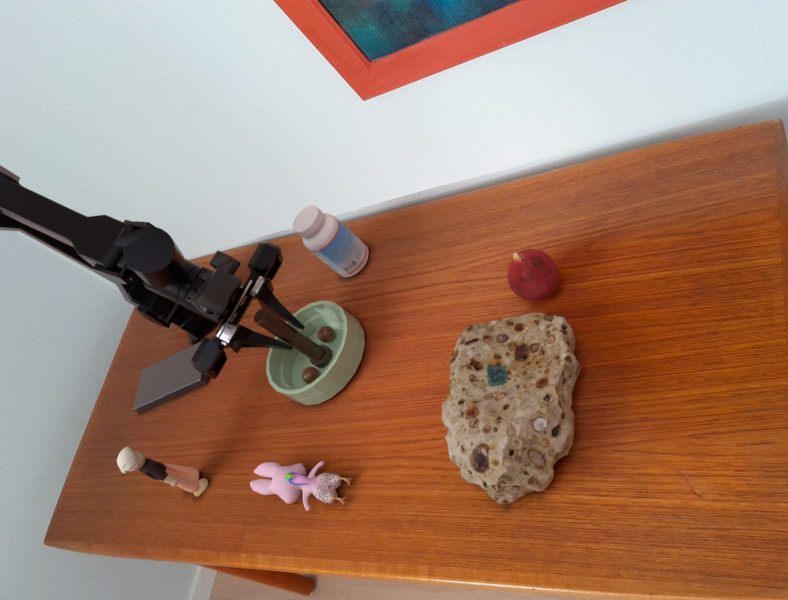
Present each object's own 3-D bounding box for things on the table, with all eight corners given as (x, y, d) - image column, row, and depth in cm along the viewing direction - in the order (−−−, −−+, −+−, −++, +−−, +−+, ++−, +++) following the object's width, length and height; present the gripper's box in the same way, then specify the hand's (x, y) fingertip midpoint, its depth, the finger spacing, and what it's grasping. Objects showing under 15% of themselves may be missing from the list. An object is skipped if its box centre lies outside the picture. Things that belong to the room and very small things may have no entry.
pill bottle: (373, 240, 101) (325, 195, 93) (367, 273, 98) (317, 229, 90) (342, 250, 104) (293, 207, 96) (335, 282, 101) (284, 241, 93)
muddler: (312, 358, 95) (248, 315, 85) (329, 343, 94) (266, 299, 85) (318, 372, 92) (253, 331, 83) (335, 358, 92) (271, 314, 83)
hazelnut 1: (307, 378, 93) (296, 371, 91) (320, 367, 93) (309, 360, 91) (312, 390, 91) (300, 383, 90) (325, 379, 91) (313, 371, 89)
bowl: (279, 359, 99) (257, 345, 96) (349, 298, 97) (329, 282, 94) (302, 426, 90) (279, 414, 87) (380, 361, 88) (359, 345, 85)
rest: (149, 373, 117) (141, 369, 116) (214, 342, 111) (207, 338, 110) (140, 413, 112) (132, 410, 111) (207, 383, 106) (200, 379, 105)
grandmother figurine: (217, 474, 94) (141, 444, 85) (205, 501, 93) (127, 473, 84) (186, 467, 99) (111, 437, 90) (174, 492, 98) (97, 465, 88)
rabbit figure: (362, 470, 82) (267, 458, 89) (338, 455, 78) (240, 443, 84) (348, 520, 80) (252, 504, 86) (322, 508, 75) (222, 491, 81)
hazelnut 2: (323, 338, 95) (311, 330, 94) (335, 327, 95) (324, 319, 93) (327, 348, 94) (316, 341, 92) (340, 338, 93) (329, 330, 92)
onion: (576, 275, 78) (549, 236, 72) (555, 317, 76) (525, 281, 70) (536, 267, 81) (507, 229, 76) (515, 307, 80) (484, 272, 74)
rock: (470, 352, 82) (446, 301, 74) (589, 345, 77) (577, 290, 70) (448, 513, 70) (418, 472, 62) (587, 515, 65) (573, 472, 58)
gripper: (133, 334, 76) (256, 394, 77) (215, 202, 81) (330, 260, 82) (158, 352, 87) (266, 404, 88) (229, 234, 92) (331, 285, 93)
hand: (298, 338), depth 88 cm, fingers open, 3 cm apart
